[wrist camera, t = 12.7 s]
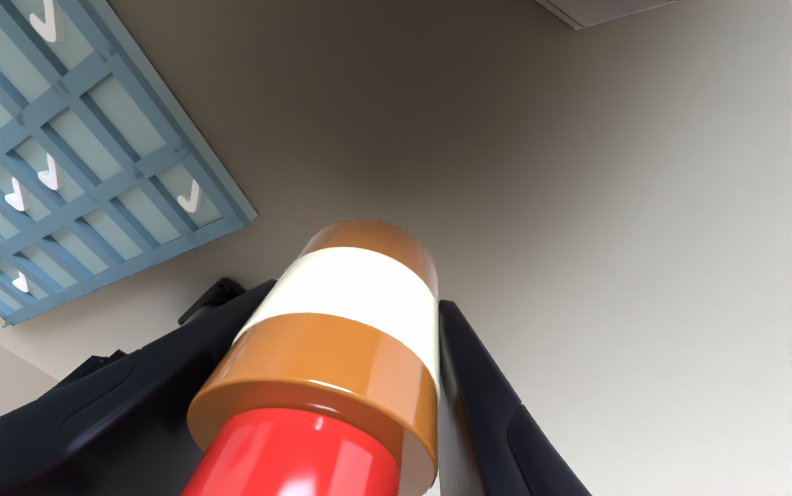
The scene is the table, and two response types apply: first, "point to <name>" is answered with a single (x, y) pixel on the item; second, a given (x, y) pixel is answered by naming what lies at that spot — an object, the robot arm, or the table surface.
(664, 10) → the table surface
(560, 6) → the cabinet
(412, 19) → the table surface
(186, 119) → the calendar
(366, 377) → the spice bottle
